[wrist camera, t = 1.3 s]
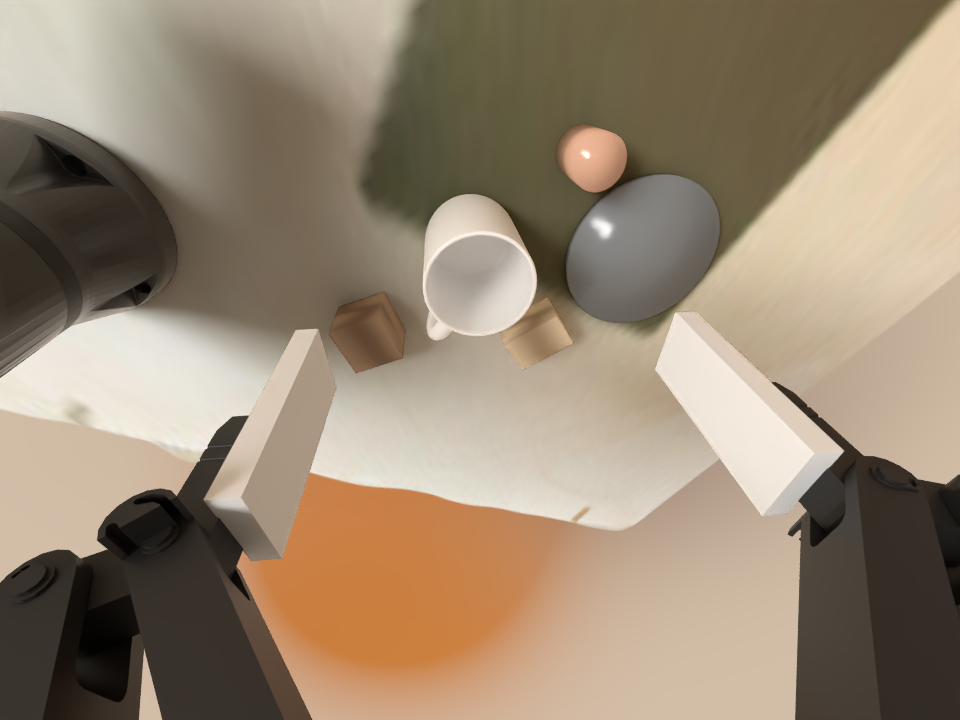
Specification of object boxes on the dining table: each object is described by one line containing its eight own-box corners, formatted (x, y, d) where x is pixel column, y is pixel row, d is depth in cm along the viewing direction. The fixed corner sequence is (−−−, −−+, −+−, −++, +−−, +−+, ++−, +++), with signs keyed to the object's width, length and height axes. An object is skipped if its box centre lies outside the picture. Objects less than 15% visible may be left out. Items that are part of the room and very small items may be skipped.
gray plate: (554, 320, 42) (556, 324, 41) (581, 171, 33) (584, 173, 32) (681, 317, 43) (685, 321, 43) (742, 174, 34) (748, 177, 34)
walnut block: (363, 344, 41) (356, 373, 37) (339, 306, 38) (328, 334, 34) (405, 330, 41) (402, 358, 37) (384, 291, 38) (378, 316, 34)
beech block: (516, 348, 44) (522, 370, 41) (499, 324, 42) (504, 345, 38) (562, 322, 42) (573, 343, 39) (547, 296, 40) (556, 316, 37)
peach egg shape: (552, 177, 33) (568, 191, 29) (560, 122, 30) (578, 130, 26) (596, 177, 33) (618, 192, 29) (608, 124, 31) (633, 132, 27)
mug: (463, 319, 41) (471, 382, 33) (392, 284, 37) (380, 344, 29) (531, 223, 35) (560, 269, 27) (454, 171, 32) (461, 206, 24)
